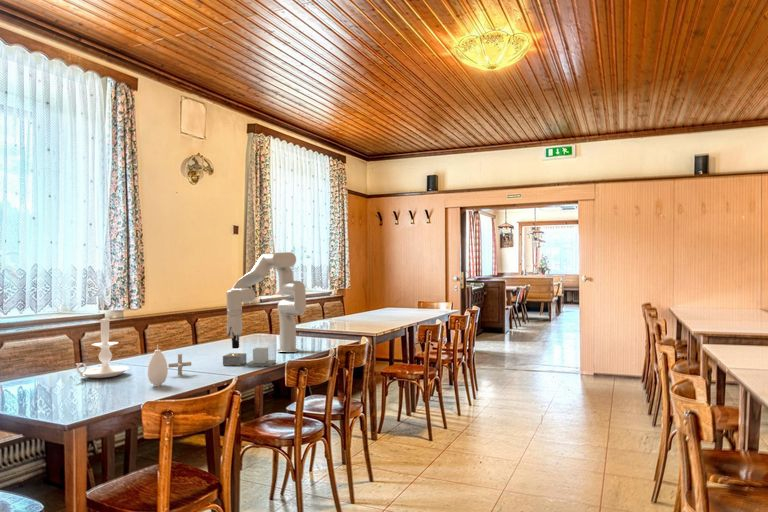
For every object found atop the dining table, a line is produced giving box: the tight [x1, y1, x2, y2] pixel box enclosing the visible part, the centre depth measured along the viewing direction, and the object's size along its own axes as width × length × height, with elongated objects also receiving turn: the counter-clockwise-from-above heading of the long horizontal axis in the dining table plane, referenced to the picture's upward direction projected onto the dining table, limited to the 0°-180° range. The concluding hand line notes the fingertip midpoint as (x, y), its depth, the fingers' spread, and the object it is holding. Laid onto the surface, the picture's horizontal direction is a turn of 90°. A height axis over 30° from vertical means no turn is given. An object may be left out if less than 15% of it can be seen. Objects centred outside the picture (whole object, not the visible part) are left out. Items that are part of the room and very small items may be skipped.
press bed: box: [244, 359, 277, 367], centre depth 269 cm, size 12×12×2 cm
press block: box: [222, 352, 247, 366], centre depth 272 cm, size 9×9×5 cm
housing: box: [252, 346, 269, 363], centre depth 270 cm, size 6×6×7 cm
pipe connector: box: [167, 353, 192, 376], centre depth 245 cm, size 10×10×10 cm
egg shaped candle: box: [147, 343, 169, 387], centre depth 223 cm, size 8×8×18 cm
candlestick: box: [75, 317, 130, 379], centre depth 244 cm, size 21×25×28 cm
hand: (235, 348), depth 273 cm, fingers closed
